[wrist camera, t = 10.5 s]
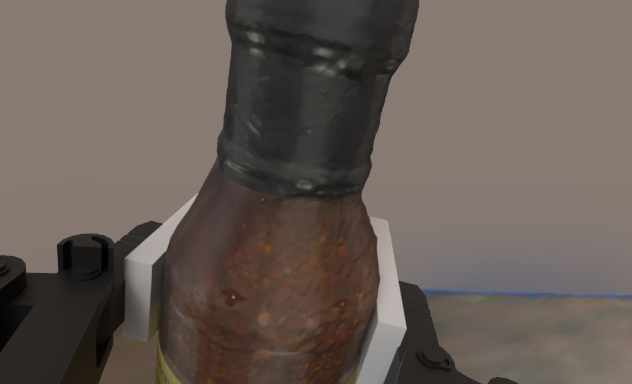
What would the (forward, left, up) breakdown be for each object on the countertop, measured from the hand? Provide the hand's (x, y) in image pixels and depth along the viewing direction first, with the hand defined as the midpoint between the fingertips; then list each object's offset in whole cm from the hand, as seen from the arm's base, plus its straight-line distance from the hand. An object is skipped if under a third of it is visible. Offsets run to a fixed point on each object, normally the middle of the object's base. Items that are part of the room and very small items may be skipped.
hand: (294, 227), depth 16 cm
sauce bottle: (0, -5, -11) cm, 12 cm away
